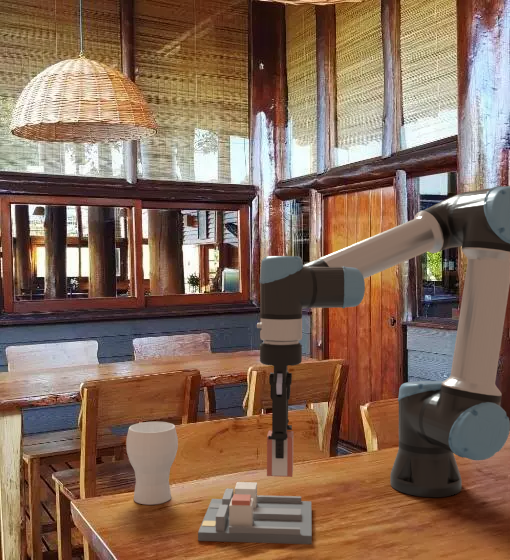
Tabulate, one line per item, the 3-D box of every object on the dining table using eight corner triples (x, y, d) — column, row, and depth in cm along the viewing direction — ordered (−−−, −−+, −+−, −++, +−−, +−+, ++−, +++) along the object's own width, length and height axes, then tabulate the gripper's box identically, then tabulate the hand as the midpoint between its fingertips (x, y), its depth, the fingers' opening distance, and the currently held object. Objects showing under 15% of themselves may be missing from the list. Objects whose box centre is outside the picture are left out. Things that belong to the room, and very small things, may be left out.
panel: (311, 508, 135) (311, 488, 135) (311, 544, 118) (311, 521, 118) (211, 506, 137) (211, 486, 137) (198, 540, 120) (198, 518, 120)
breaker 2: (253, 519, 125) (253, 494, 125) (251, 528, 121) (251, 501, 121) (231, 519, 125) (231, 493, 125) (229, 527, 121) (229, 501, 121)
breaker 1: (257, 502, 134) (257, 482, 134) (255, 509, 130) (255, 489, 130) (236, 501, 134) (236, 481, 134) (234, 509, 130) (234, 488, 130)
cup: (168, 509, 135) (168, 434, 135) (118, 505, 137) (117, 432, 137) (184, 491, 145) (184, 422, 145) (137, 488, 148) (137, 419, 147)
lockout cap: (268, 468, 125) (268, 430, 125) (293, 469, 124) (293, 431, 124) (266, 476, 120) (267, 436, 120) (292, 476, 120) (292, 437, 120)
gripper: (263, 336, 131) (262, 456, 131) (256, 347, 113) (255, 486, 114) (302, 336, 130) (301, 457, 131) (301, 348, 113) (300, 487, 113)
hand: (280, 470), depth 122 cm, fingers closed on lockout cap, 4 cm apart
